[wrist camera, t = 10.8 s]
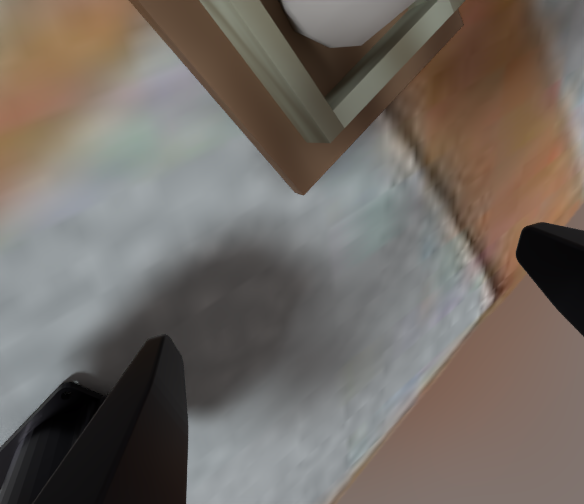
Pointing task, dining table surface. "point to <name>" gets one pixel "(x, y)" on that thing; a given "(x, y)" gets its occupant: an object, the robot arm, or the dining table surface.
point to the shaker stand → (298, 73)
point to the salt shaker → (341, 19)
